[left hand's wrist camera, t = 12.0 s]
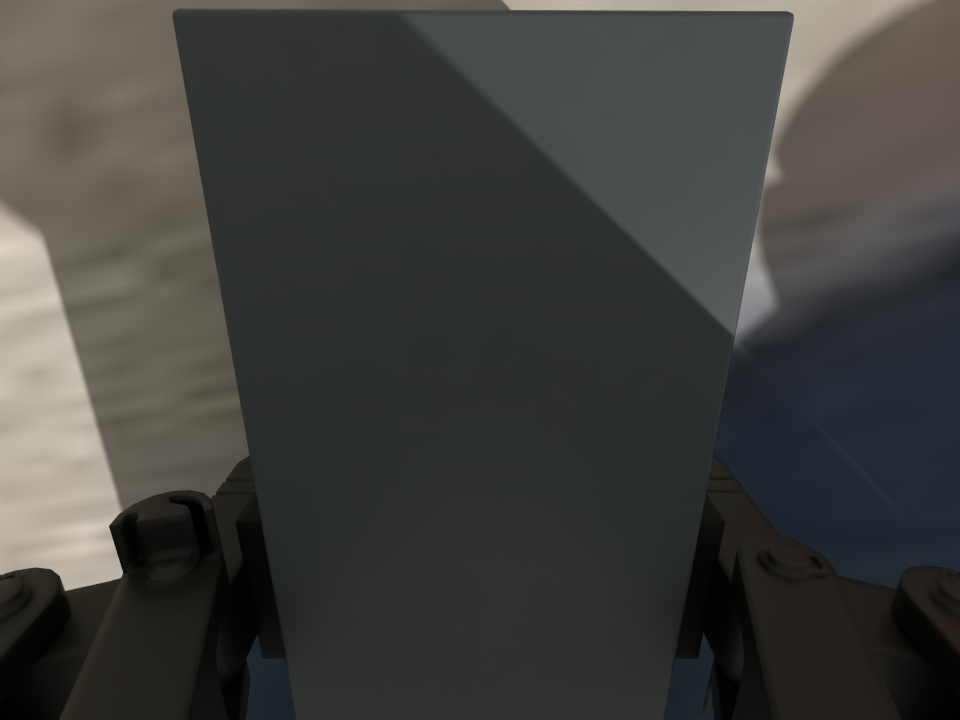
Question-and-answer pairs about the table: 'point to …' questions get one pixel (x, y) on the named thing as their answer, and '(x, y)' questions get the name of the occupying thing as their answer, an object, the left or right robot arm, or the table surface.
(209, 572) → the left robot arm
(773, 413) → the table surface
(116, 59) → the table surface
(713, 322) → the bar
